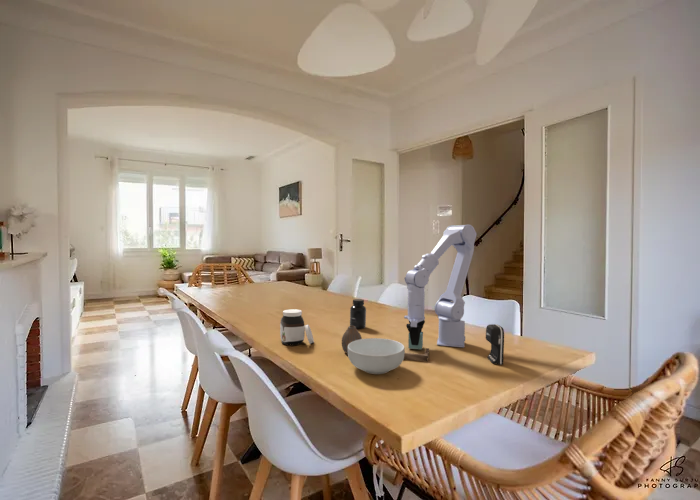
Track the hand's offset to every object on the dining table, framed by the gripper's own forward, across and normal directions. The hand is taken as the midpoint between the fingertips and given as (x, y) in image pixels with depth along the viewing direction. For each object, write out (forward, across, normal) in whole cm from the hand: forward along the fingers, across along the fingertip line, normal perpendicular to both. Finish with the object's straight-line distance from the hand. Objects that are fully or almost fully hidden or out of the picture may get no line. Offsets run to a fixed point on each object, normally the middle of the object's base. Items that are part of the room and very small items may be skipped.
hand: (415, 342), depth 126 cm
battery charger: (+2, +6, +25) cm, 26 cm away
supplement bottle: (+2, -23, -27) cm, 36 cm away
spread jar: (+2, +6, -42) cm, 43 cm away
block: (+2, 0, 0) cm, 2 cm away
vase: (+2, +11, -20) cm, 23 cm away
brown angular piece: (+2, +9, -4) cm, 10 cm away
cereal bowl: (+2, +24, -9) cm, 26 cm away
